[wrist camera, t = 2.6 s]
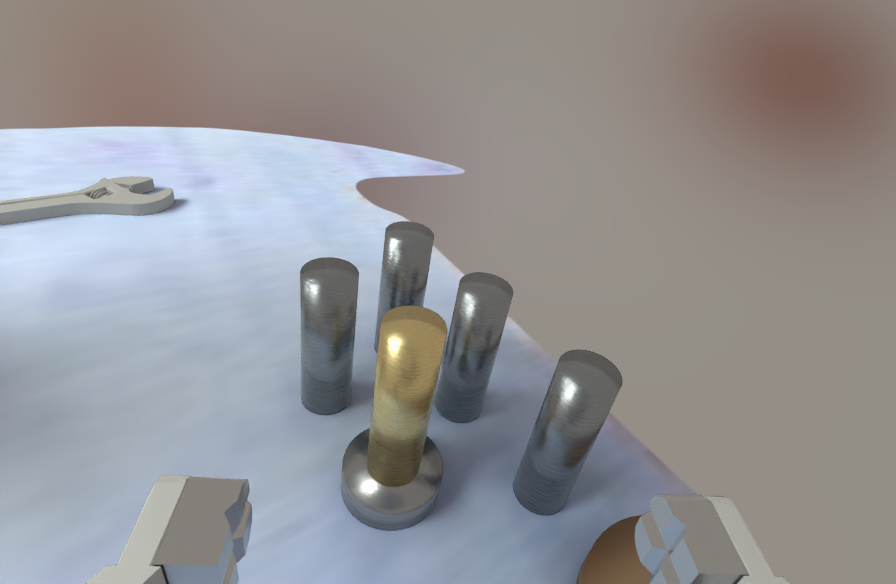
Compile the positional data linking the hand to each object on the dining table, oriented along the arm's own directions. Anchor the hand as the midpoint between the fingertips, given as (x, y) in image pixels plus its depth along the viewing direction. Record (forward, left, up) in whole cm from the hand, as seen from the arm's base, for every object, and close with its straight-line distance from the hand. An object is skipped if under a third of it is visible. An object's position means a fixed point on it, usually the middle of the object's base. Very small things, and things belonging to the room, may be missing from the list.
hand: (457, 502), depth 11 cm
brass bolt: (-9, +9, -17) cm, 21 cm away
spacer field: (-11, +14, -18) cm, 25 cm away
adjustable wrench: (-51, +3, -18) cm, 55 cm away
